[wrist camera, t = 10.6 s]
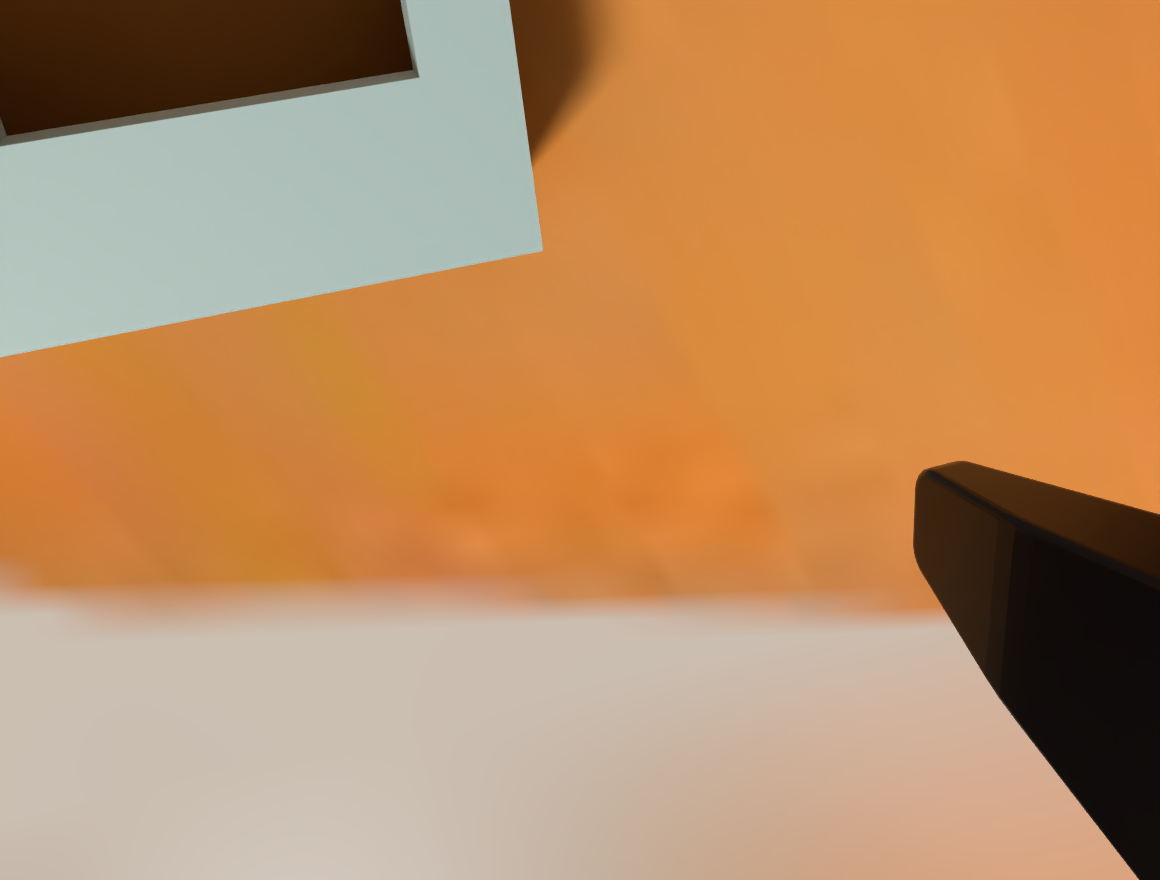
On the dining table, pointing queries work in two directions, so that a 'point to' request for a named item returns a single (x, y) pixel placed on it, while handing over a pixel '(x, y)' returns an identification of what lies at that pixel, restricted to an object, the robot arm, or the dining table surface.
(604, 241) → the dining table surface
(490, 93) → the keyhole plate
